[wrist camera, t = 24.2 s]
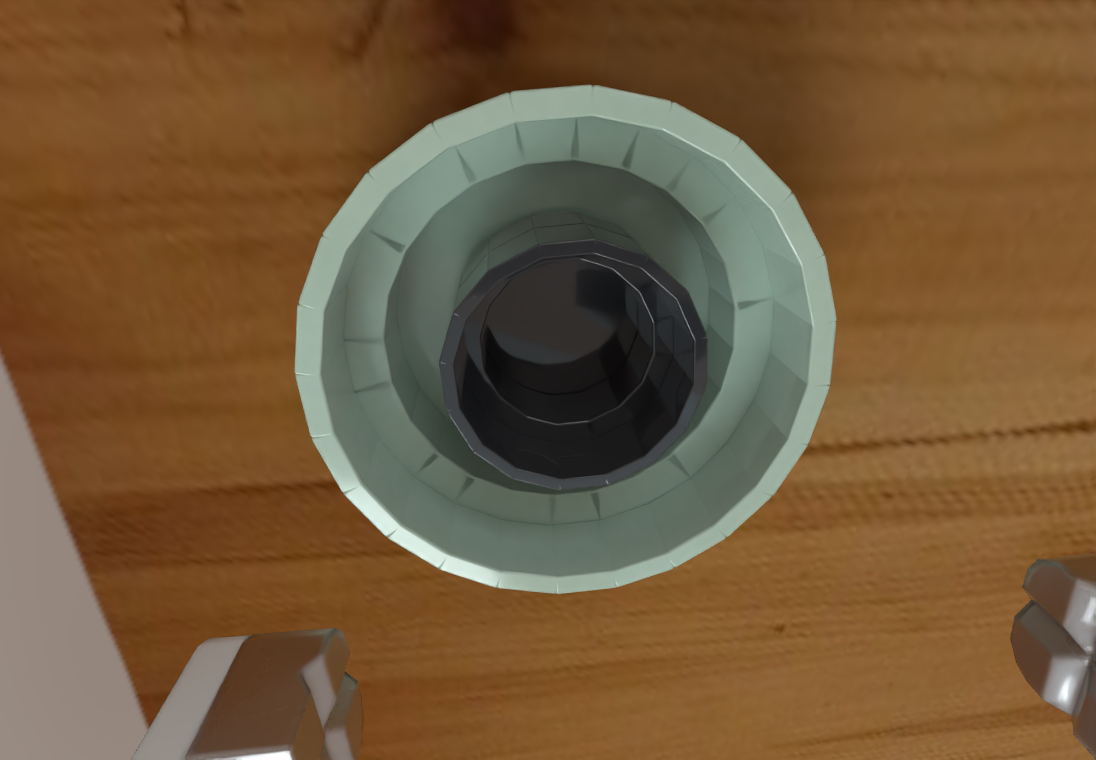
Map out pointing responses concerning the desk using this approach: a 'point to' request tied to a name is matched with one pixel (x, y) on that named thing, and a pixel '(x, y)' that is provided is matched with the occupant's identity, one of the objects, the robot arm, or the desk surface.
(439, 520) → the celadon bowl
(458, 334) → the charcoal cup
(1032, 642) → the robot arm
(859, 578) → the desk surface
